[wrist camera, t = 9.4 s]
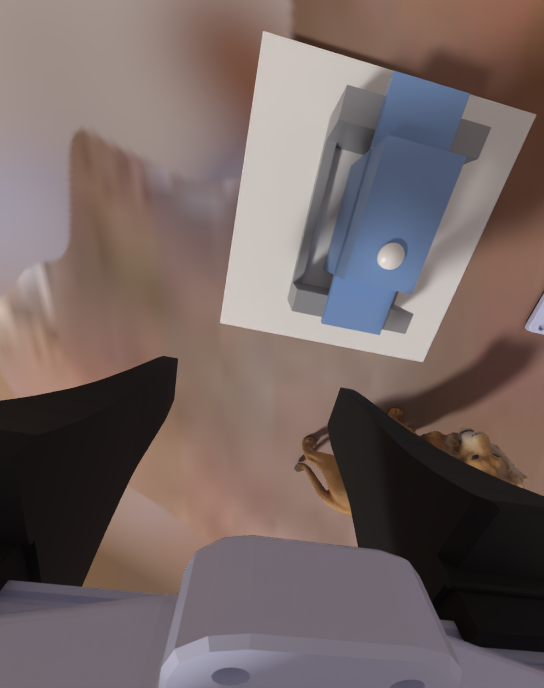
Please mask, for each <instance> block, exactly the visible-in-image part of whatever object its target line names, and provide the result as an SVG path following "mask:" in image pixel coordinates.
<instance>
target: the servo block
mask: <svg viewBox="0 0 544 688" xmlns="http://www.w3.org/2000/svg"><path fill="white" fill-rule="evenodd" d="M469 96H470V93H467V92H464V91H460V90H457V89H454V88H450V87H447V86H444V85H440V84H437V83H434V82H430V81H427V80H424V79H420V78H417V77H414V76H411V75H407V74H404V73H401V72H397V71H394V73H393V74H392V75H391V77H390V81H389V84H388V88H387V91H386V95H385V98H384V102H383V105H382V109H381V112H380V116H379V119H378V123H377V126H376V130H375V133H374V137H373V140H372V143H371V147H370V150H369V151H368V152H367V153H365V154H364V155H363V156H362V157H361V158H360V159H359V160H357V161H356V162H355V163H354V164H353V165H352V166H351V168H350V171H349V175H348V179H347V183H346V186H345V190H344V194H343V197H342V201H341V205H340V209H339V212H338V216H337V220H336V223H335V227H334V231H333V235H332V238H331V242H330V246H329V249H328V253H327V257H326V261H325V264H324V268H323V270H325V271H327V272H329V273H331V274H333V275H334V276H333V280H332V283H331V287H330V290H329V294H328V297H327V301H326V304H325V308H324V311H323V315H322V318H321V323H322V324H326V325H331V326H336V327H341V328H346V329H351V330H356V331H361V332H366V333H371V334H376V335H380V333H381V330H382V328H383V325H384V322H385V320H386V317H387V314H388V312H389V309H390V306H391V304H392V301H393V298H394V296H395V293H396V291H398V292H403V293H407V294H412V292H413V290H414V287H415V285H416V282H417V280H418V277H419V275H420V272H421V270H422V267H423V265H424V262H425V260H426V257H427V255H428V252H429V250H430V247H431V245H432V242H433V240H434V237H435V235H436V232H437V230H438V227H439V225H440V222H441V220H442V217H443V215H444V212H445V210H446V207H447V205H448V202H449V200H450V197H451V195H452V192H453V190H454V187H455V185H456V182H457V180H458V177H459V175H460V172H461V170H462V167H463V165H464V162H465V160H466V157H467V156H464V155H460V154H457V153H453V152H449V149H450V147H451V144H452V142H453V139H454V136H455V134H456V131H457V128H458V126H459V123H460V120H461V118H462V115H463V112H464V110H465V107H466V104H467V102H468V99H469Z"/></svg>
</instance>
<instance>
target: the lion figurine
mask: <svg viewBox="0 0 544 688" xmlns="http://www.w3.org/2000/svg"><path fill="white" fill-rule="evenodd" d="M402 414H403V412H402V411H401V410H399V409H398V408H392V409H390V411H389V412H388V414H387V415H389V416H390V417H391V418H393V419H394V420H395V421H397V422H398V423H400V424H401V425H402V426H404V427H405V428H407V429H408V430H410V431H411V432H412V433H414V434H416V433H415V432H414V431H413V429H412V428H410V427H407V426H406V425H404V424H403V423H401V422H400V421H399V420H400V419H401V418H402ZM416 435H417V434H416ZM417 436H418V435H417ZM419 437H420V438H422V439H423V440H425V441H427V442H428V443H430V444H432V445H433V446H435V447H437V448H438V449H440V450H442V451H444V452H446V453H447V454H449V455H451V456H453V457H455V458H457V459H459V460H461V461H463V462H465V463H467V464H469V465H471V466H473V467H475V468H477V469H479V470H481V471H483V472H486V473H488V474H490V475H492V476H494V477H497V478H499V479H501V480H503V481H506V482H508V483H511V484H513V485H516V486H518V487H521V488H523V484H522V483H523V482H524V481H525V480H527V477H526V476H525V475H523V474H522V473H521V472H520V471H519V470H518V469H517V468H516V467H515V465H514V464H513V463H512V462H511V461H510V460H509V459H508V457H507V456H506V455H505V454H504V453H503V452H502V450H501V449H500V448H499V447H498V446H497V445H494V444H492V443H490V440H489V437H488V435H487V434H485V433H484V432H481V431H477V432H475V431H473V430H472V429H470V428H469V427H463V428H461V429H459V432H458V433H451V434H448V435H444V434H442V433H440V432H438V431H434V432H429V433H427V434H423V435H421V436H419ZM316 443H317V442H316V440H315V439H314V438H312V437H307V438H305V439H304V440H303V442H302V449H303V452H304V455H305V457H306V460H307V462H308V463H311V464H314V465H315V466H317V467H318V468H319V469H320V470H321V471H322V473H323V475H324V477H325V479H326V482H327V485H328V488H329V490H327V491H326V490H325V488H324V487H323V486H322V484H321V483H320V481H319V480H318V479H317V477H316V475H315V474H314V472H313V471H312V470H311V468H310V467H309V466H308V465H306V464H304V463H297V465H296V466H295V467H294V469H295V470H296V471H297V472H299V471H302V470H305V471H306V473H307V475H308V477H309V479H310V481H311V483H312V485H313V487H314V488H315V490H316V492H317V493H318V495H319V496H320V497H321V498H322V500H323V501H324V502H325V503H326V504H328V505H329V506H330V507H332V508H334V509H335V510H337V511H340V512H341V513H343V514H345V515H350V516H352V514H351V509H350V504H349V500H348V497H347V493H346V490H345V487H344V484H343V481H342V478H341V475H340V472H339V469H338V465H337V462H336V459H335V456H333V455H330V454H326V453H322V452H317V451H314V450H312V449H313V448H315V446H316Z"/></svg>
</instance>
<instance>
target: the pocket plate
mask: <svg viewBox="0 0 544 688" xmlns="http://www.w3.org/2000/svg"><path fill="white" fill-rule="evenodd" d="M393 73H394V71H393V70H389V69H386V68H383V67H380V66H376V65H373V64H370V63H367V62H363V61H360V60H357V59H353V58H350V57H347V56H344V55H340V54H337V53H334V52H331V51H327V50H324V49H321V48H318V47H314V46H311V45H308V44H305V43H301V42H298V41H295V40H292V39H288V38H285V37H282V36H278V35H275V34H272V33H269V32H265V31H263V36H262V43H261V49H260V56H259V63H258V70H257V77H256V83H255V90H254V97H253V104H252V110H251V117H250V124H249V131H248V137H247V144H246V151H245V158H244V165H243V171H242V178H241V185H240V191H239V198H238V205H237V212H236V218H235V225H234V232H233V239H232V245H231V252H230V259H229V266H228V273H227V279H226V286H225V293H224V300H223V306H222V313H221V320H220V323H223V324H228V325H233V326H239V327H244V328H249V329H254V330H259V331H264V332H270V333H275V334H280V335H285V336H290V337H295V338H300V339H306V340H311V341H316V342H321V343H326V344H331V345H337V346H342V347H347V348H352V349H357V350H362V351H368V352H373V353H378V354H383V355H388V356H393V357H399V358H404V359H409V360H414V361H419V362H423V361H424V358H425V356H426V354H427V352H428V350H429V348H430V345H431V343H432V341H433V339H434V337H435V335H436V332H437V330H438V328H439V326H440V324H441V322H442V319H443V317H444V315H445V313H446V311H447V308H448V306H449V304H450V302H451V300H452V298H453V295H454V293H455V291H456V289H457V287H458V285H459V282H460V280H461V278H462V276H463V274H464V272H465V269H466V267H467V265H468V263H469V261H470V258H471V256H472V254H473V252H474V250H475V248H476V245H477V243H478V241H479V239H480V237H481V235H482V232H483V230H484V228H485V226H486V224H487V221H488V219H489V217H490V215H491V213H492V211H493V208H494V206H495V204H496V202H497V200H498V198H499V195H500V193H501V191H502V189H503V187H504V185H505V182H506V180H507V178H508V176H509V174H510V171H511V169H512V167H513V165H514V163H515V161H516V158H517V156H518V154H519V152H520V150H521V148H522V145H523V143H524V141H525V139H526V137H527V134H528V132H529V130H530V128H531V126H532V124H533V121H534V119H535V117H536V114H533V113H530V112H526V111H523V110H520V109H517V108H513V107H510V106H507V105H504V104H500V103H497V102H494V101H490V100H487V99H484V98H481V97H477V96H474V95H471V94H470V96H469V99H468V102H467V104H466V107H465V110H464V112H463V115H462V118H461V120H460V123H459V126H458V128H457V131H456V134H455V136H454V139H453V142H452V144H451V147H450V149H449V152H453V153H457V154H460V155H464V156H467V157H466V160H465V162H464V165H463V167H462V170H461V172H460V175H459V177H458V180H457V182H456V185H455V187H454V190H453V192H452V195H451V197H450V200H449V202H448V205H447V207H446V210H445V212H444V215H443V217H442V220H441V222H440V225H439V227H438V230H437V232H436V235H435V237H434V240H433V242H432V245H431V247H430V250H429V252H428V255H427V257H426V260H425V262H424V265H423V267H422V270H421V272H420V275H419V277H418V280H417V282H416V285H415V287H414V290H413V292H412V294H407V293H403V292H398V291H396V293H395V296H394V298H393V301H392V304H391V306H390V309H389V312H388V314H387V317H386V320H385V322H384V325H383V328H382V330H381V333H380V335H376V334H371V333H366V332H361V331H356V330H351V329H346V328H341V327H336V326H331V325H326V324H322V323H321V318H322V315H323V311H324V308H325V304H326V301H327V297H328V294H329V290H330V287H331V283H332V280H333V276H334V275H333V274H331V273H329V272H327V271H325V270H323V268H324V264H325V261H326V257H327V253H328V249H329V246H330V242H331V238H332V235H333V231H334V227H335V223H336V220H337V216H338V212H339V209H340V205H341V201H342V197H343V194H344V190H345V186H346V183H347V179H348V175H349V171H350V168H351V166H352V165H353V164H354V163H355V162H356V161H357V160H359V159H360V158H361V157H362V156H363V155H364V154H365V153H367V152H368V151H369V150H370V147H371V143H372V140H373V137H374V133H375V130H376V126H377V123H378V119H379V116H380V112H381V109H382V105H383V102H384V98H385V95H386V91H387V88H388V84H389V81H390V77H391V75H392V74H393Z"/></svg>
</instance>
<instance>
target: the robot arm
mask: <svg viewBox="0 0 544 688" xmlns="http://www.w3.org/2000/svg"><path fill="white" fill-rule="evenodd" d="M539 326H540V327H539ZM525 328H526V330H528V331H530V332H534V333H539V334H543V335H544V294H543V296H542V297H541V299H540V301H539V302H538V304H537V306H536V308H535V309H534V311H533V313H532V314H531V316H530V318H529V320H528V321H527V323H526V326H525ZM177 363H178V359H177V358H172V357H166V356H162V357H159V358H156V359H153V360H151V361H149V362H146V363H144V364H141V365H139V366H137V367H134V368H132V369H129V370H127V371H124V372H121V373H119V374H116V375H113V376H110V377H108V378H105V379H102V380H99V381H96V382H92V383H89V384H85V385H81V386H78V387H74V388H70V389H65V390H60V391H55V392H51V393H46V394H41V395H36V396H30V397H23V398H17V399H9V400H2V401H0V688H544V496H541V495H539V494H536V493H534V492H531V491H529V490H526V489H524V488H521V487H518V486H516V485H513V484H511V483H508V482H506V481H503V480H501V479H499V478H497V477H494V476H492V475H490V474H488V473H486V472H483V471H481V470H479V469H477V468H475V467H473V466H471V465H469V464H467V463H465V462H463V461H461V460H459V459H457V458H455V457H453V456H451V455H449V454H447V453H446V452H444V451H442V450H440V449H438V448H437V447H435V446H433V445H432V444H430V443H428V442H427V441H425V440H423V439H422V438H420V437H419V436H417V435H416V434H414V433H412V432H411V431H410V430H408V429H407V428H405V427H404V426H402V425H401V424H400V423H398V422H397V421H395V420H394V419H393V418H391V417H390V416H389V415H387V414H386V413H385V412H383V411H382V410H381V409H380V408H378V407H377V406H376V405H374V404H373V403H372V402H370V401H369V400H368V399H367V398H365V397H364V396H362V395H361V394H360V393H358V392H356V391H355V390H352V389H346V388H340V391H339V394H338V396H337V399H336V402H335V405H334V408H333V411H332V414H331V416H330V419H329V422H328V430H329V437H330V442H331V446H332V450H333V453H334V456H335V459H336V462H337V465H338V469H339V472H340V475H341V478H342V481H343V484H344V487H345V490H346V493H347V497H348V500H349V504H350V509H351V514H352V518H353V523H354V528H355V533H356V538H357V543H358V547H350V546H342V545H333V544H325V543H316V542H307V541H299V540H290V539H282V538H273V537H265V536H256V535H249V536H232V537H224V538H222V539H220V540H217V541H215V542H213V543H211V544H209V545H207V546H205V547H203V548H201V549H200V550H198V551H196V553H195V554H194V556H193V558H192V559H191V561H190V562H189V564H188V566H187V567H186V569H185V572H184V576H183V580H182V584H181V588H180V592H179V593H177V594H168V595H165V594H155V593H154V594H153V593H143V592H133V591H121V590H110V589H100V588H89V587H82V585H83V583H84V580H85V578H86V576H87V573H88V571H89V569H90V566H91V564H92V561H93V559H94V557H95V555H96V552H97V550H98V548H99V546H100V543H101V541H102V539H103V536H104V534H105V532H106V530H107V527H108V525H109V523H110V521H111V518H112V516H113V514H114V512H115V510H116V508H117V506H118V503H119V501H120V499H121V497H122V495H123V493H124V491H125V489H126V487H127V485H128V483H129V480H130V478H131V476H132V474H133V473H134V471H135V469H136V467H137V465H138V464H139V462H140V460H141V459H142V457H143V455H144V454H145V452H146V451H147V449H148V447H149V446H150V444H151V442H152V441H153V439H154V438H155V436H156V434H157V433H158V431H159V429H160V428H161V426H162V424H163V423H164V421H165V419H166V417H167V415H168V413H169V410H170V408H171V406H172V403H173V401H174V395H175V385H176V374H177Z"/></svg>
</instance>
